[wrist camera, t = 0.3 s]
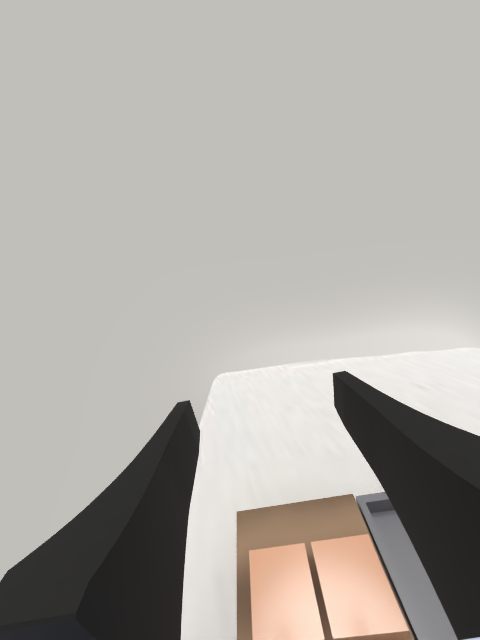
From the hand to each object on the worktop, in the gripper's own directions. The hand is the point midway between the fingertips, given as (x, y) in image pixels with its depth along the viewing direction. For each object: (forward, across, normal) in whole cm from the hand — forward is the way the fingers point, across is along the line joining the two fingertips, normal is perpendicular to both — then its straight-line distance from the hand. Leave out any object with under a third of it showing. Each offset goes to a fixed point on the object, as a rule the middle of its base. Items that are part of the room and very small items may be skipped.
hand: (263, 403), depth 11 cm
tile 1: (-1, -4, +18) cm, 18 cm away
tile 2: (-1, +1, +18) cm, 18 cm away
